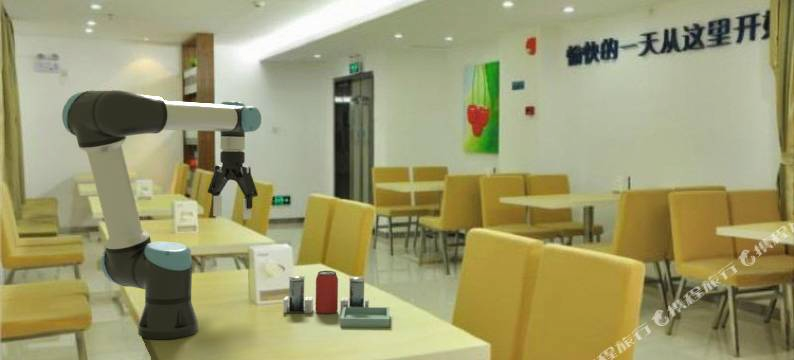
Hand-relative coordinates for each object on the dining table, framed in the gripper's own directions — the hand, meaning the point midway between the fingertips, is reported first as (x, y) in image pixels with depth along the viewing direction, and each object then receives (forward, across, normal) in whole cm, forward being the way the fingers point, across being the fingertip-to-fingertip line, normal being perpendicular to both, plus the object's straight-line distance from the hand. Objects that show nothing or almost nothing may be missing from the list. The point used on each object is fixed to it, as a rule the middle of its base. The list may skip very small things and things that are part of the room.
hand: (231, 217), depth 224 cm
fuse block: (+26, -34, -6) cm, 44 cm away
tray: (+26, -50, -5) cm, 57 cm away
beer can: (+26, -34, -6) cm, 44 cm away
